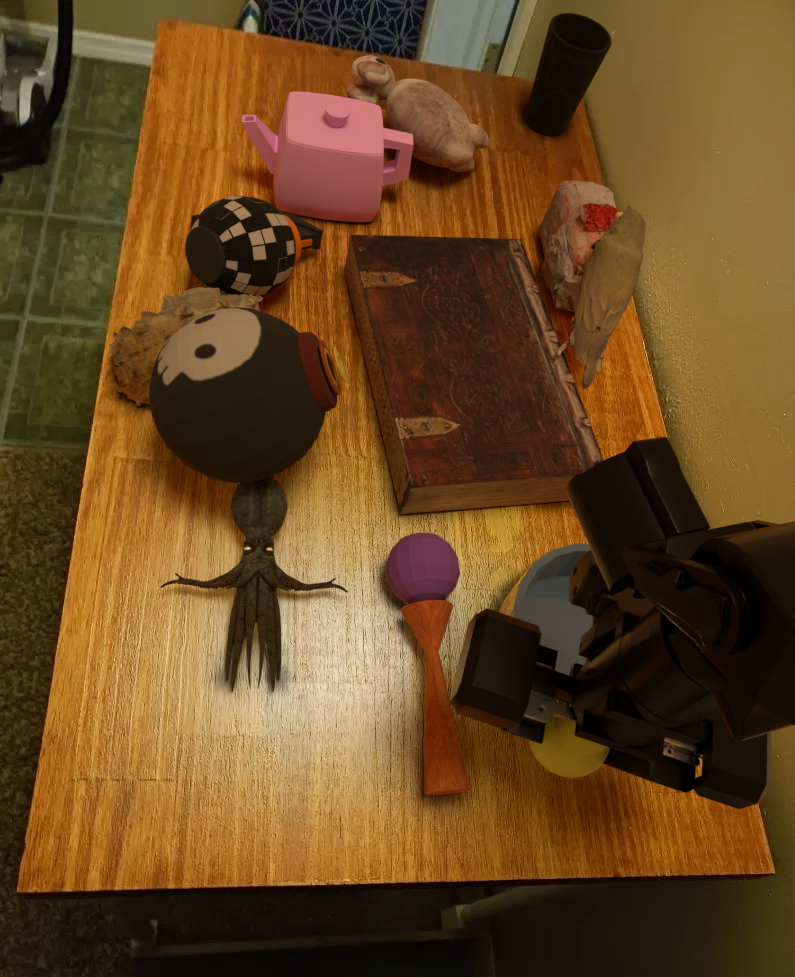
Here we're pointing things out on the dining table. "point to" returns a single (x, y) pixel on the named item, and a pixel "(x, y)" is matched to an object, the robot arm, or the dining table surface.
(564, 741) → the pear toy
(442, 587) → the kendama
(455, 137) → the toy
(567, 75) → the cup
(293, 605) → the dining table surface
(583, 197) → the food item
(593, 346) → the decorative bird model
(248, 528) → the figurine
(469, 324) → the antique book
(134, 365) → the seashell
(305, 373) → the toy
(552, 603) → the bowl
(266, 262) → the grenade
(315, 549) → the dining table surface
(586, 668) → the robot arm
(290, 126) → the teapot
